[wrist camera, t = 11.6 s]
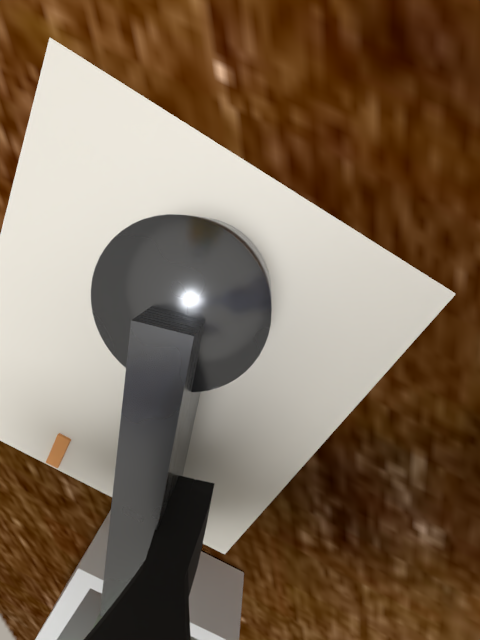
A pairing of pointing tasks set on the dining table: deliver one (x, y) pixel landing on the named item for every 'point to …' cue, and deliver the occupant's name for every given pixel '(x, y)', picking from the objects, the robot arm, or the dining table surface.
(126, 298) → the dial lever
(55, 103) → the dial panel
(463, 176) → the dining table surface
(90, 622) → the tool holder
